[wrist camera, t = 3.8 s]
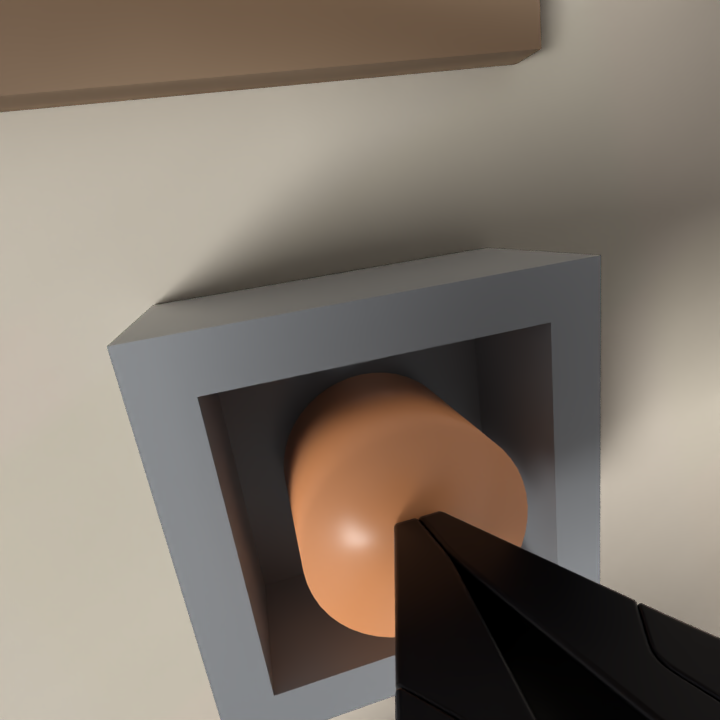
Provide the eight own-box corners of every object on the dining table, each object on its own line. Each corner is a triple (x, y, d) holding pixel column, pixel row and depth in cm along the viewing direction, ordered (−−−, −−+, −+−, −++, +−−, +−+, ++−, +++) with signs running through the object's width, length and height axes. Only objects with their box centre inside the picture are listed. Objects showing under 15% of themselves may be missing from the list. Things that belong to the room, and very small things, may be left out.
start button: (461, 510, 12) (532, 597, 9) (301, 556, 11) (323, 666, 8) (447, 355, 11) (523, 400, 8) (267, 394, 10) (279, 459, 7)
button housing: (505, 520, 14) (600, 622, 11) (232, 600, 13) (231, 753, 9) (487, 247, 12) (600, 255, 8) (152, 305, 11) (107, 346, 7)
